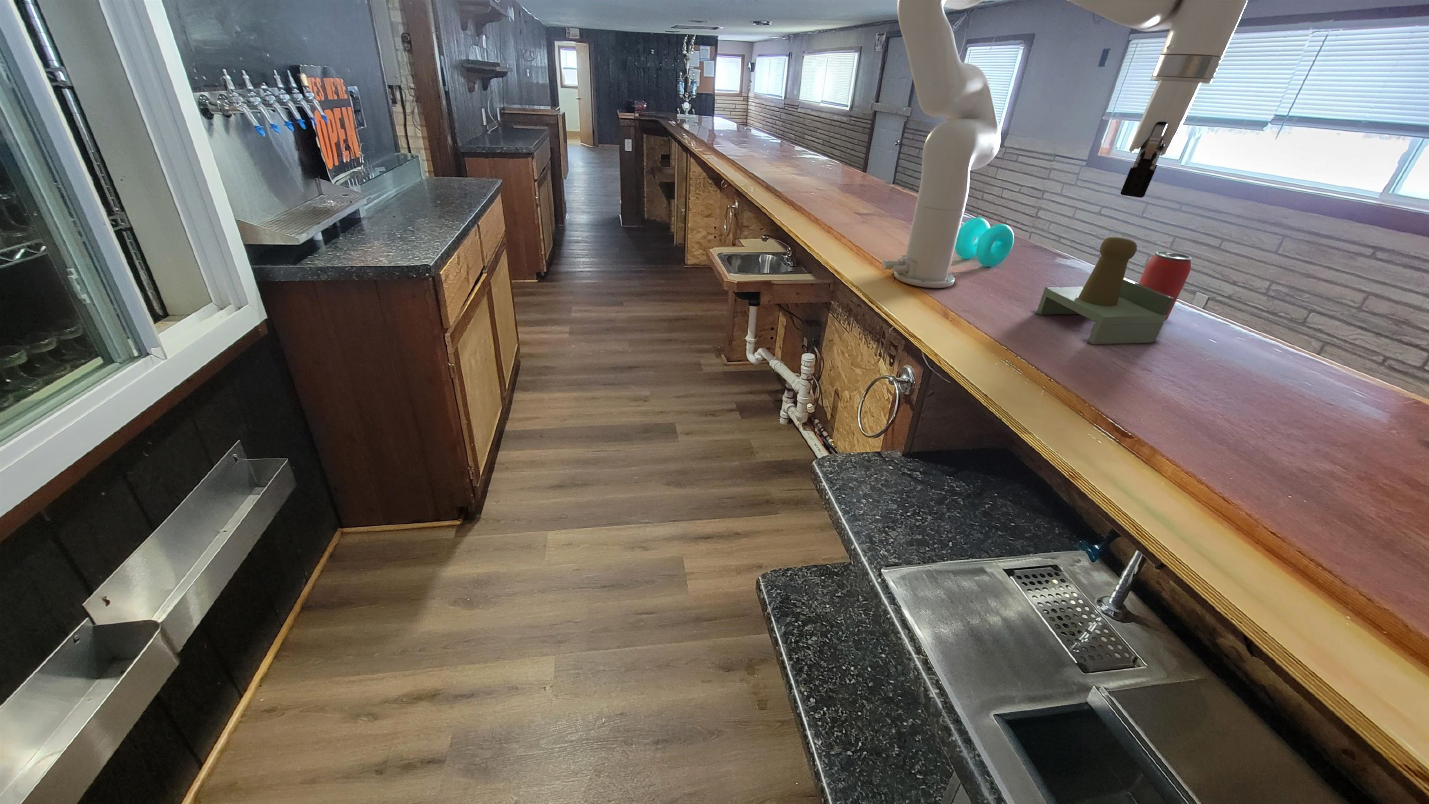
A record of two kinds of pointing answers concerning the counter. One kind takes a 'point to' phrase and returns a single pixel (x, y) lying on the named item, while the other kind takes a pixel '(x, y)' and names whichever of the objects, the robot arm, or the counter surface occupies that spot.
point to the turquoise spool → (984, 241)
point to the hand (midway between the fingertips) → (1133, 192)
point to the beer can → (1167, 274)
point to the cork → (1109, 272)
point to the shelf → (1113, 312)
